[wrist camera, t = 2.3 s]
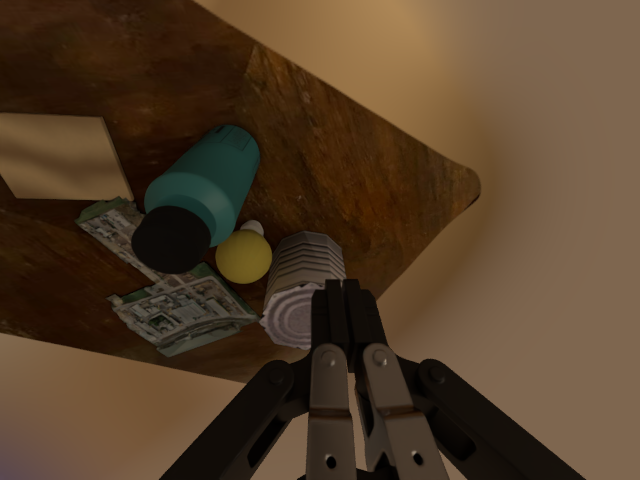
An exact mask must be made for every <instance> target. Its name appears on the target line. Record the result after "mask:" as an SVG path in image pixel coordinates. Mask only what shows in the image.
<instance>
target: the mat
mask: <svg viewBox="0 0 640 480" xmlns="http://www.w3.org/2000/svg"><path fill="white" fill-rule="evenodd" d="M0 174H1V176H2V177H3V179H4V180H5V182H6V183H7V185H8V186H9V188H10V189H11V191H12V192H13V193H14V195H15V196H16V198H37V199H76V200H102V199H103V200H112V199H114V198H116V197H118V196H120V197H121V198H122V199H124V198H127V199H128V200H129V201H133V200H134V196H133V194H132V191H131V189H130V186H129V183H128V181H127V178H126V176H125V173H124V171H123V168H122V166H121V163H120V160H119V158H118V155H117V153H116V150H115V148H114V145H113V142H112V140H111V137H110V135H109V132H108V130H107V127H106V124H105V122H104V119H103V117H101V116H79V115H57V114H35V113H13V112H0Z"/></svg>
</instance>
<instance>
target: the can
mask: <svg viewBox="0 0 640 480" xmlns="http://www.w3.org/2000/svg"><path fill="white" fill-rule="evenodd" d="M325 279H340V282H341V288H342V282H343V279H346V274H345V268H344V263H343V257H342V251H341V248H340V247H339V246H338V245H337V244H336V243H335V242H334V241H333V240H332V239H331V238H330V237H329V236H328V235H326V234H321V233H315V232H309V231H301V232H299V233H296V234H293V235H291V236H288V237H286V238H283V239H282V240H281V242H280V243H279V245H278V247H277V248H276V250H275V251H274V253H273V255H272V262H271V266H270V273H269V279H268V285H267V291H266V297H265V303H264V309H263V314H262V316H261V318H260V320H259V322H260V324H261V325H262V327H263V328H264V329H265V331H266V332H267V334H268V335H269V336H270V338H271V339H272V340H273V342H274V343H275V344H280V345H285V346H290V347H294V348H299V349H304V350H308V349H311V323H310V315H311V297H312V295H313V293H314V291H315V289H324V287H325Z"/></svg>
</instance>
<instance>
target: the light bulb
mask: <svg viewBox="0 0 640 480" xmlns="http://www.w3.org/2000/svg"><path fill="white" fill-rule="evenodd" d="M263 234H264V232H263V228H262V226H261V224H260V223H259V222H258V221H255V220H250V221H248V222H246V223H244V224H243V225H242V226H241V228H240V230H238V231H235V232H233V233H232V234H231V235H230V236H229V237H228V238H227V239H226V240H225V241H224V242H222V243H220V244H219V245H218V247H217V251H216V263H217V267H218V269H219V270H220V272H221V274H223V275H224V276H225V277H226V278H227V279H229V280H230V281H232V282H236V283H242V284H246V283H251V282H254V281H256V280H258V279H260V278H261V277H262V276H263V275H264V274H265V273H266V272H267V271H268V269H269V267H270V265H271V262H272V251H271V248H270V246H269V244H268V243H267V241H266V240H265V238H264V237H263Z"/></svg>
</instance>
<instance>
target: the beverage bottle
mask: <svg viewBox="0 0 640 480" xmlns="http://www.w3.org/2000/svg"><path fill="white" fill-rule="evenodd" d="M219 125H220V124H219ZM209 130H211V129H209ZM207 132H208V131H207ZM207 132H206V133H207ZM206 133H205V134H206ZM205 134H204V135H205ZM204 135H203V138H201V137H200V138H201V140H200V141H198V142H196V144H195V143H194V144H195V145H194V144H193V145H194V146H192V145H191V146H192V148H191V147H190V148H191V149H188V148H189V147H188V148H187V149H188V151H187V150H185V151H187V152H185V154H184V155H183V156H182V157H180V158H179V159H178V160H177V161H176V163H175V164H174V163H173V165H172V166H171V167H169V169H168V170H167V171H166V172H165V173H164V174H163V175H161V176H159V177H158V178H156V179H155V180H154V181H153V182H152V183H151V184H150V185H149V187H148V189H147V191H146V194H145V199H144V205H145V210H146V213H147V215H146V216H145V217H144V218H143V219H142V221H141V223H140V225H139V226H138V227H137V229H136V230H135V231H134V233H133V235H132V238H131V247H132V250H133V252H134V254H135V255H136V257H137V258H138V259H139V260H140V261H141V262H142V263H143V264H145V265H146V266H147V267H149V268H151V269H153V270H155V271H158V272H160V273H164V274H171V275H178V274H183V273H187V272H189V271H191V270H192V269H194V268H195V267H196V266H197V265H198V264H199V262H200V261H201V259H202V257H203V256H204V255H205V254H206V253H207V251H208V249H209V247H214V246H216V245H219V244H220V243H222V242H224V241H225V240H226V239H227V238H228V237H229V236H230V235H231V234H232V232H233V230H234V227H235V224H236V220H237V217H238V215H239V212H240V210H241V207H242V205H243V202H245V201H244V200H245V197H246V196H247V193H248V192H249V189H250V187H251V184H253V183H254V182H253V183H252V181H253V178H254V176H255V173H256V170H257V168H258V165H259V161H260V153H259V149H258V146H257V144H256V142H255V140H254V139H253V138H252V136H251V135H250V134H249V133H248V132H246V130H243V128H242V129H241V127H240V128H239V126H238V127H237V126H236V125H235V126H233V125H221V126H217V127H215V128H214V129H212V130H211V131H210V132H209V133H208V134H206V135H205V136H204ZM200 138H199V139H200ZM175 160H176V159H175ZM175 160H174V161H175ZM260 163H261V162H260ZM259 167H260V166H259ZM258 169H259V168H258ZM257 171H258V170H257Z"/></svg>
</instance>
